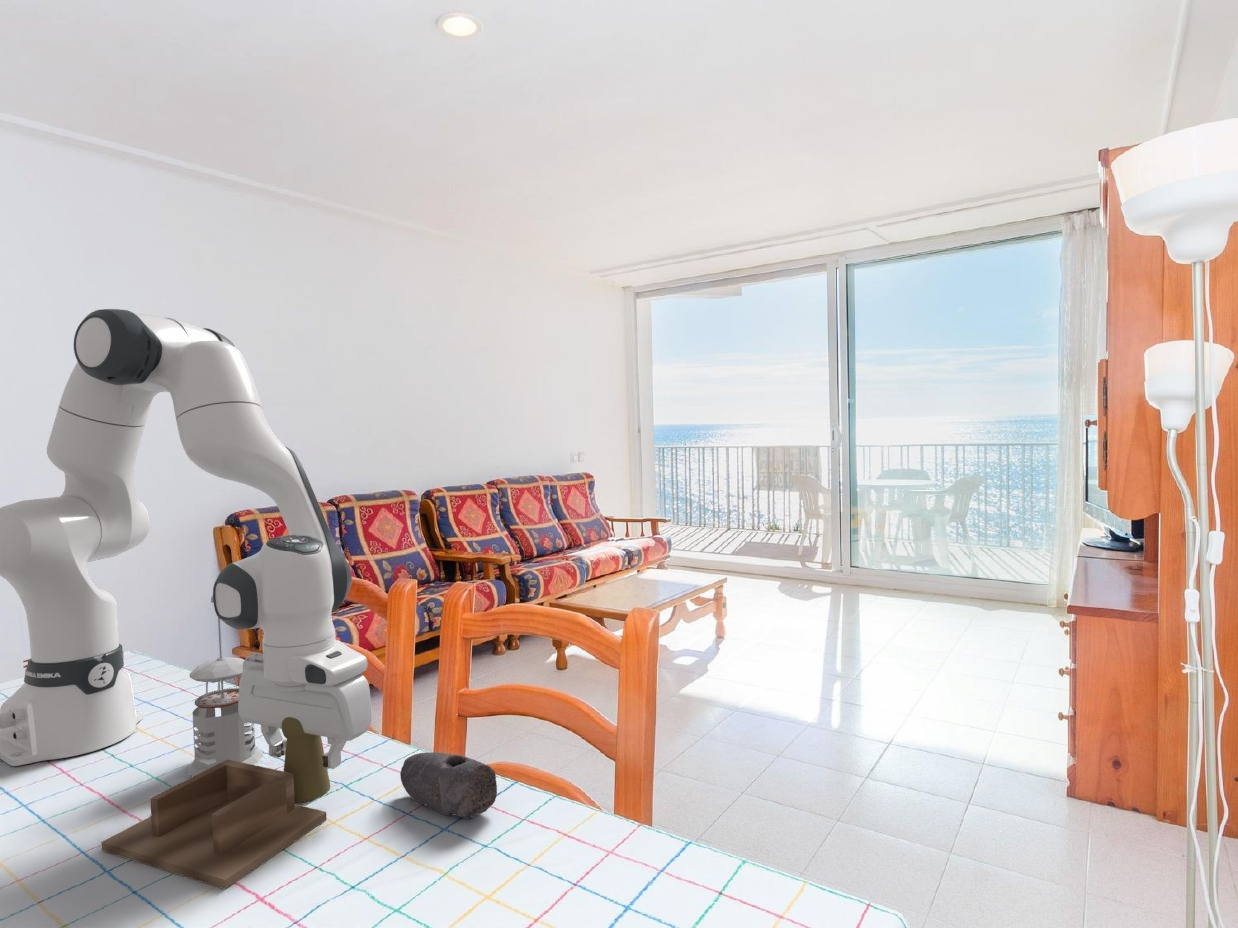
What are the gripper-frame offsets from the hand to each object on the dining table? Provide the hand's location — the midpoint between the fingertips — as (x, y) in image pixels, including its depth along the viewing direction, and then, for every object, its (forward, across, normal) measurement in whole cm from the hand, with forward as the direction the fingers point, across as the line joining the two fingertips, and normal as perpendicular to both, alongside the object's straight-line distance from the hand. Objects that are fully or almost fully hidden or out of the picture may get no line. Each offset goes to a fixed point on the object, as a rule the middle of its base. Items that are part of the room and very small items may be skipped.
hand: (304, 760), depth 94 cm
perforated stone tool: (+4, +20, +3) cm, 21 cm away
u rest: (+4, -2, -11) cm, 12 cm away
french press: (+4, -19, +3) cm, 20 cm away
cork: (+4, 0, 0) cm, 4 cm away
